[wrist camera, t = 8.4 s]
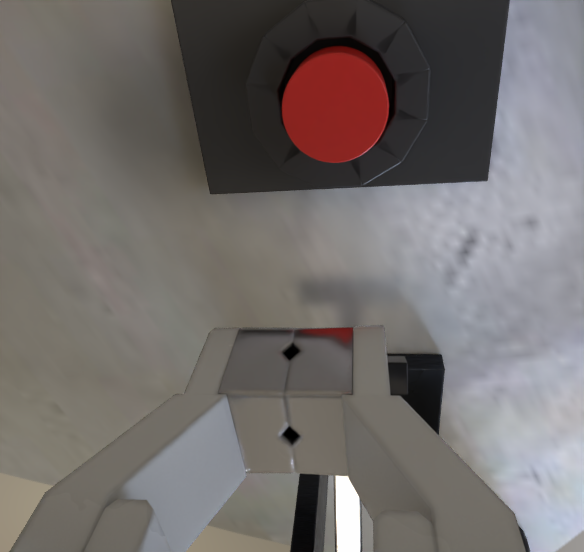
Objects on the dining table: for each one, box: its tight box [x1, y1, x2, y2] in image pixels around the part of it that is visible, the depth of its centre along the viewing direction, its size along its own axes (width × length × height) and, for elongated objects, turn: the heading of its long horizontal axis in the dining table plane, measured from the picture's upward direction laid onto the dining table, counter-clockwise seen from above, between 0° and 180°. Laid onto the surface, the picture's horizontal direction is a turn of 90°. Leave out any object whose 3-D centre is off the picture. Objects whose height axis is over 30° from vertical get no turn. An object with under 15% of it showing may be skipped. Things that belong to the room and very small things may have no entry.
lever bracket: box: [290, 354, 445, 552], centre depth 24 cm, size 9×10×13 cm
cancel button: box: [282, 46, 389, 163], centre depth 17 cm, size 4×4×2 cm
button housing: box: [171, 0, 510, 194], centre depth 18 cm, size 12×8×3 cm, turn 96°
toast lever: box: [334, 356, 408, 552], centre depth 20 cm, size 12×5×2 cm
